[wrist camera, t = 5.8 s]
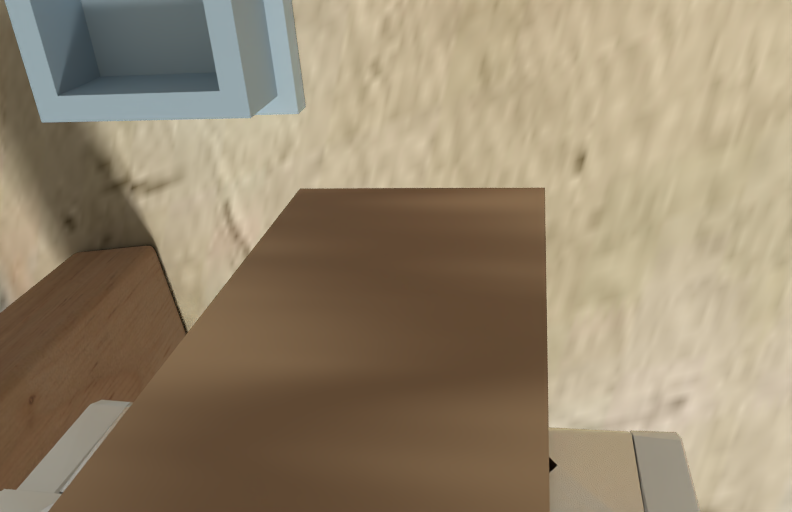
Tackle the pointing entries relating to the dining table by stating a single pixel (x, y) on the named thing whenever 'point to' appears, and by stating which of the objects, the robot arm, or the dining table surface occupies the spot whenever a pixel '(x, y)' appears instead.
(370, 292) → the wood grain brick
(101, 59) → the cradle
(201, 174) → the dining table surface
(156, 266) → the wooden block
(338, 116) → the dining table surface
